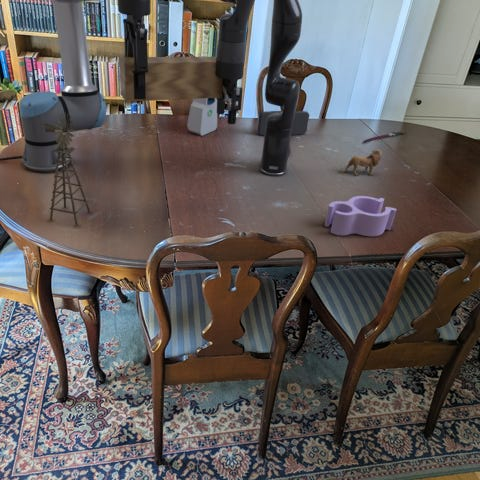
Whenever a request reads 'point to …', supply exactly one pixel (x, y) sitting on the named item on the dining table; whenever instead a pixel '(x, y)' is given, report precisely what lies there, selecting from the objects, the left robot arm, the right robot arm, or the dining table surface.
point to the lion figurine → (365, 162)
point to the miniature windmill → (60, 149)
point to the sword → (382, 136)
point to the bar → (172, 78)
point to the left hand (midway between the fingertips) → (136, 94)
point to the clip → (359, 216)
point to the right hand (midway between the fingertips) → (225, 118)
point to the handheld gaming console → (297, 127)
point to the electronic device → (203, 115)
